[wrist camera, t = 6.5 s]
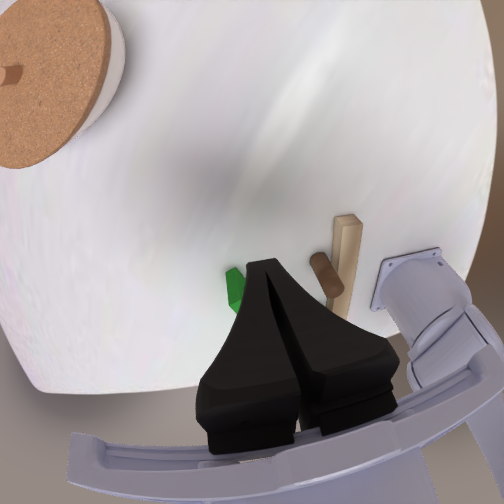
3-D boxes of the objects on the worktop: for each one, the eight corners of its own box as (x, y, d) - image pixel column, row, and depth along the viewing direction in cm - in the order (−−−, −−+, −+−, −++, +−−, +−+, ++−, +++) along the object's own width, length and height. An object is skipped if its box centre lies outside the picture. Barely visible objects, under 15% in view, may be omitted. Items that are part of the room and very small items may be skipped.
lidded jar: (63, 164, 17) (-5, 218, 9) (12, 75, 11) (-66, 92, 3) (170, 82, 15) (134, 76, 8) (109, -14, 9) (53, -56, 2)
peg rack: (354, 214, 23) (378, 240, 20) (337, 327, 33) (349, 354, 29) (310, 220, 23) (329, 248, 20) (305, 334, 32) (315, 363, 29)
